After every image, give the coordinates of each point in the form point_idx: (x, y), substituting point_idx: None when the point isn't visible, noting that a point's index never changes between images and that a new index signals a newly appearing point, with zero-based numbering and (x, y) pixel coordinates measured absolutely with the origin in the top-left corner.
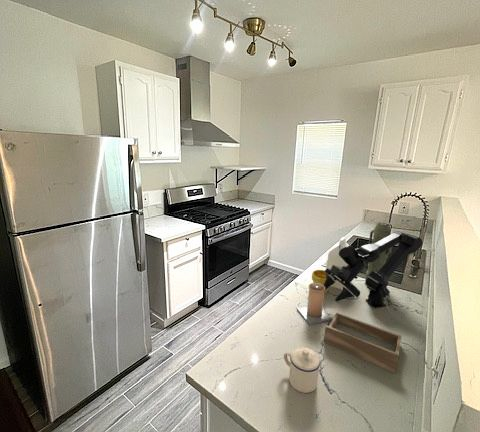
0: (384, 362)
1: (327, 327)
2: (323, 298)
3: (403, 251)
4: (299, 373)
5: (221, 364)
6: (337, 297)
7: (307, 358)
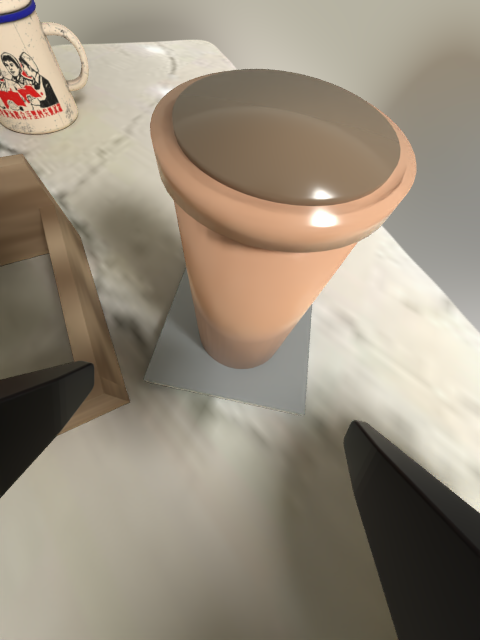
0: None
1: (9, 157)
2: (198, 289)
3: None
4: None
5: (199, 63)
6: (27, 380)
7: None
